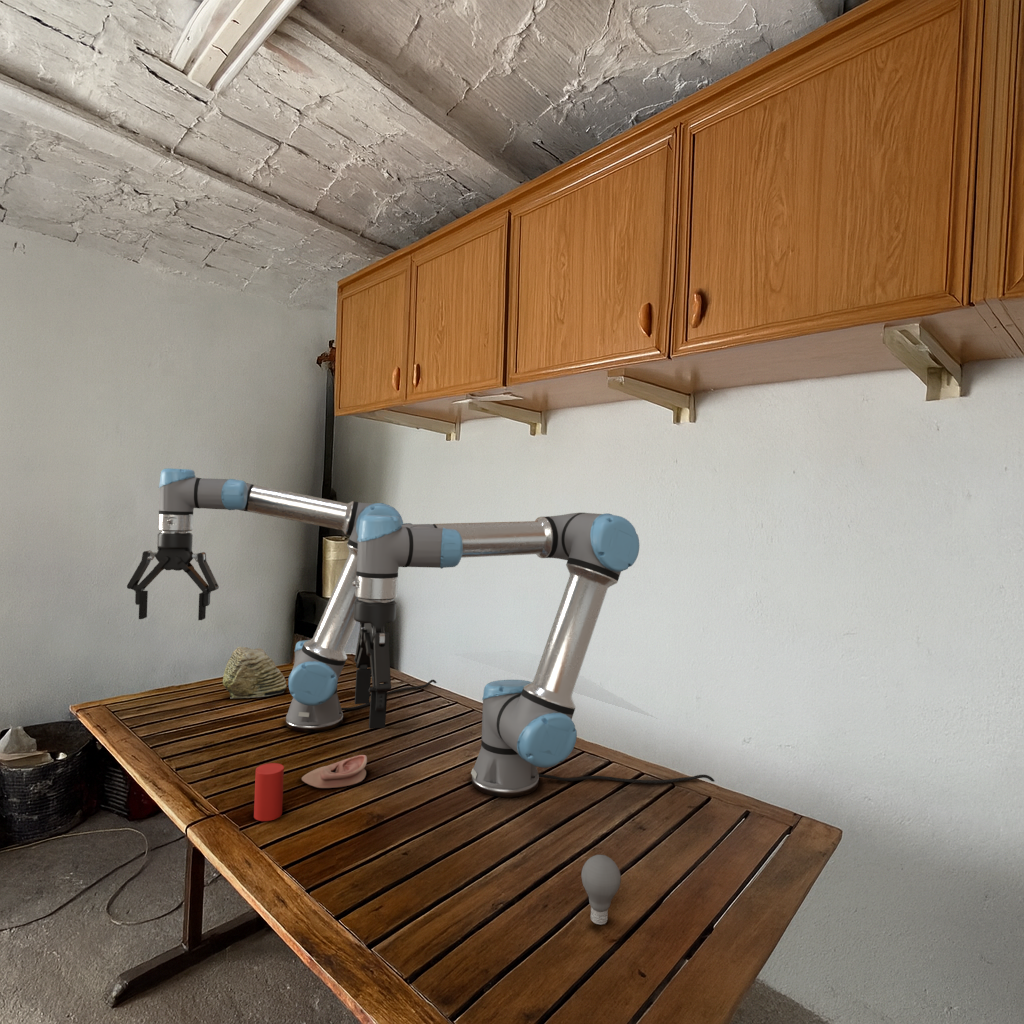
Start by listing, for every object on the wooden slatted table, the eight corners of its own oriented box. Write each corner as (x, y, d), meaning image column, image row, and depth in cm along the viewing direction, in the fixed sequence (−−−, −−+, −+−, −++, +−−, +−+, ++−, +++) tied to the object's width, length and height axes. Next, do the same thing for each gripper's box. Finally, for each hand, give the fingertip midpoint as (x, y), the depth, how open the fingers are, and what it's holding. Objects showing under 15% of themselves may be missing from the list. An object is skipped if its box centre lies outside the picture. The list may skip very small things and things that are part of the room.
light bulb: (576, 909, 100) (578, 846, 100) (613, 909, 101) (616, 846, 100) (583, 935, 94) (586, 869, 94) (622, 935, 95) (626, 868, 94)
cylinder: (256, 823, 122) (258, 776, 122) (251, 811, 126) (253, 766, 126) (285, 817, 125) (286, 770, 125) (278, 805, 129) (280, 761, 129)
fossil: (218, 695, 195) (220, 647, 195) (278, 685, 208) (279, 640, 207) (228, 703, 189) (230, 653, 188) (289, 692, 201) (290, 645, 201)
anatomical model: (294, 766, 138) (320, 747, 150) (294, 784, 138) (320, 763, 150) (351, 774, 136) (373, 754, 147) (350, 792, 136) (372, 770, 147)
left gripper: (112, 530, 149) (110, 620, 149) (224, 534, 152) (221, 622, 153) (127, 529, 156) (125, 614, 157) (233, 532, 160) (230, 616, 160)
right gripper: (343, 589, 126) (337, 695, 126) (368, 611, 103) (361, 741, 103) (381, 589, 129) (375, 693, 129) (413, 611, 106) (406, 737, 106)
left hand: (172, 618), depth 155 cm, fingers open, 13 cm apart
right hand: (369, 714), depth 116 cm, fingers open, 13 cm apart
